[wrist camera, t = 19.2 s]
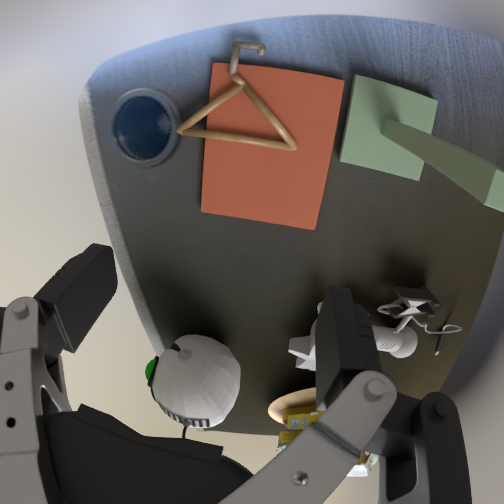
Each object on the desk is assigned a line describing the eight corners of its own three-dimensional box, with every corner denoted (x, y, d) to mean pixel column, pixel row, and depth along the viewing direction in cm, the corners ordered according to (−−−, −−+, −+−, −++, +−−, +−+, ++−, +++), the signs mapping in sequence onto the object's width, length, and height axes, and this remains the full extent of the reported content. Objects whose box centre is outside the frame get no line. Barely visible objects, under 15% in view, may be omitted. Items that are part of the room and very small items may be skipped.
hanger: (174, 135, 31) (186, 38, 25) (177, 134, 32) (188, 39, 26) (297, 153, 31) (315, 52, 25) (297, 151, 32) (315, 53, 26)
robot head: (159, 303, 47) (107, 405, 29) (248, 317, 46) (225, 435, 28) (171, 365, 55) (138, 453, 38) (243, 378, 54) (226, 473, 37)
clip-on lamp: (458, 297, 43) (393, 273, 37) (478, 321, 37) (417, 302, 32) (419, 346, 48) (348, 335, 42) (434, 371, 42) (363, 367, 37)
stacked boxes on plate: (379, 421, 59) (385, 482, 45) (278, 430, 64) (271, 490, 50) (394, 360, 47) (411, 440, 33) (259, 373, 53) (247, 454, 38)
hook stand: (353, 74, 27) (448, 58, 8) (489, 125, 26) (615, 185, 8) (338, 158, 32) (395, 260, 14) (470, 195, 31) (571, 296, 13)
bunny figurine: (278, 371, 46) (315, 315, 36) (281, 346, 50) (315, 286, 40) (332, 382, 46) (379, 331, 37) (332, 358, 50) (375, 303, 41)
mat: (214, 63, 28) (212, 62, 27) (343, 80, 27) (344, 80, 27) (202, 209, 37) (200, 211, 37) (314, 227, 37) (314, 230, 36)
